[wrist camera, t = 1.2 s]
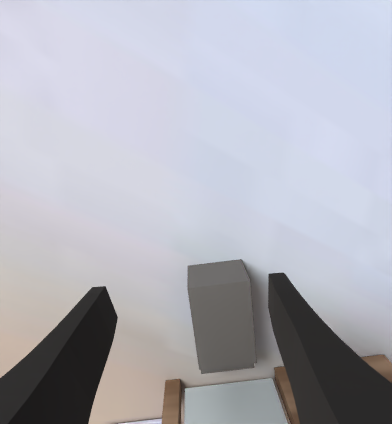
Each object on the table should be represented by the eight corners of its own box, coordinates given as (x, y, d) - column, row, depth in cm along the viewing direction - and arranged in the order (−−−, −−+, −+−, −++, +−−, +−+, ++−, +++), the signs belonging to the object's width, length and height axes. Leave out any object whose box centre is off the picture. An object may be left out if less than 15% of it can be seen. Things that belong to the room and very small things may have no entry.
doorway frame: (382, 366, 29) (482, 483, 19) (167, 391, 29) (157, 520, 20) (383, 354, 29) (485, 467, 19) (165, 380, 29) (153, 506, 19)
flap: (272, 382, 28) (298, 458, 22) (185, 392, 29) (184, 472, 22) (271, 377, 28) (298, 453, 22) (185, 388, 28) (183, 466, 22)
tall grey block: (248, 348, 28) (258, 381, 24) (200, 353, 28) (201, 387, 25) (240, 259, 26) (250, 280, 22) (187, 265, 26) (187, 288, 22)
